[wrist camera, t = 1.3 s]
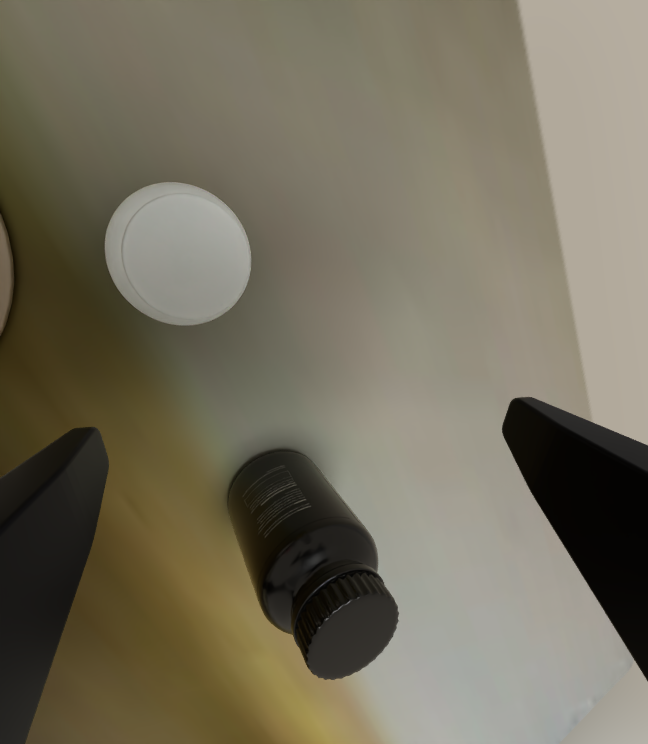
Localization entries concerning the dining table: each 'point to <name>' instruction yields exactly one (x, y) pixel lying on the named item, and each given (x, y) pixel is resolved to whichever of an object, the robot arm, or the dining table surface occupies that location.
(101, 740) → the dining table surface
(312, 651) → the supplement bottle
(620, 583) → the robot arm
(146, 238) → the supplement bottle
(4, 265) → the turntable
